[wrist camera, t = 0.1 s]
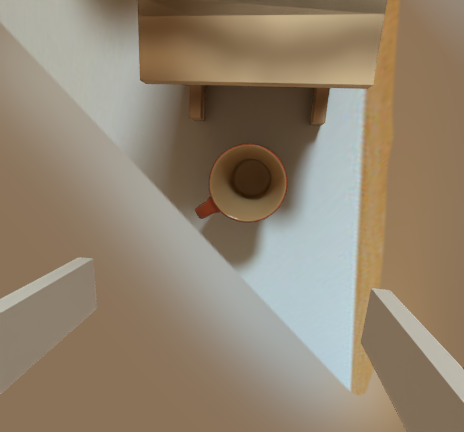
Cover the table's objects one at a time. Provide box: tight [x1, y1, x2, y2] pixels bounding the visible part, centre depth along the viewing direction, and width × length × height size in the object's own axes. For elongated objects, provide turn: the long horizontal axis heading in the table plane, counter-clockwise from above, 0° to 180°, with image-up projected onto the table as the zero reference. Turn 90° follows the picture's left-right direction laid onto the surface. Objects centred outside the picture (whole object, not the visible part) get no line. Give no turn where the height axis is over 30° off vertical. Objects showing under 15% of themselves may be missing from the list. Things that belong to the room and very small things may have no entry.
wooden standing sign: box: [138, 0, 387, 125], centre depth 29 cm, size 8×20×15 cm, turn 87°
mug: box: [195, 144, 287, 222], centre depth 34 cm, size 12×9×10 cm
